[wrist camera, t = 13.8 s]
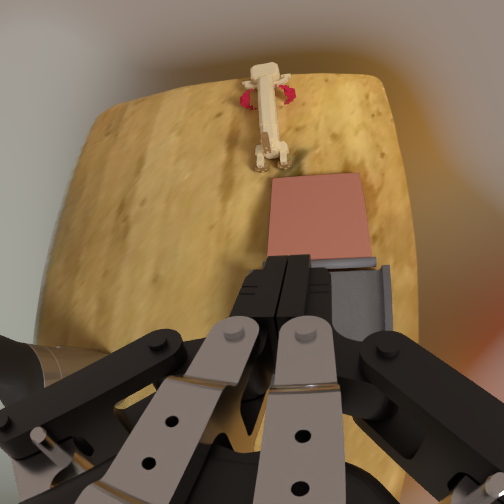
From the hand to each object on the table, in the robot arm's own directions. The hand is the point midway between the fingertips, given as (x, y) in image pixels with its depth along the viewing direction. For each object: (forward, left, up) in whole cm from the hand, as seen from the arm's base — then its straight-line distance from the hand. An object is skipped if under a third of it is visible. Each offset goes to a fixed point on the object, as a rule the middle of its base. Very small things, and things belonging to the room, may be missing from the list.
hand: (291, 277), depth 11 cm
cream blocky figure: (-24, +28, -30) cm, 48 cm away
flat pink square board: (-4, +7, -26) cm, 27 cm away
